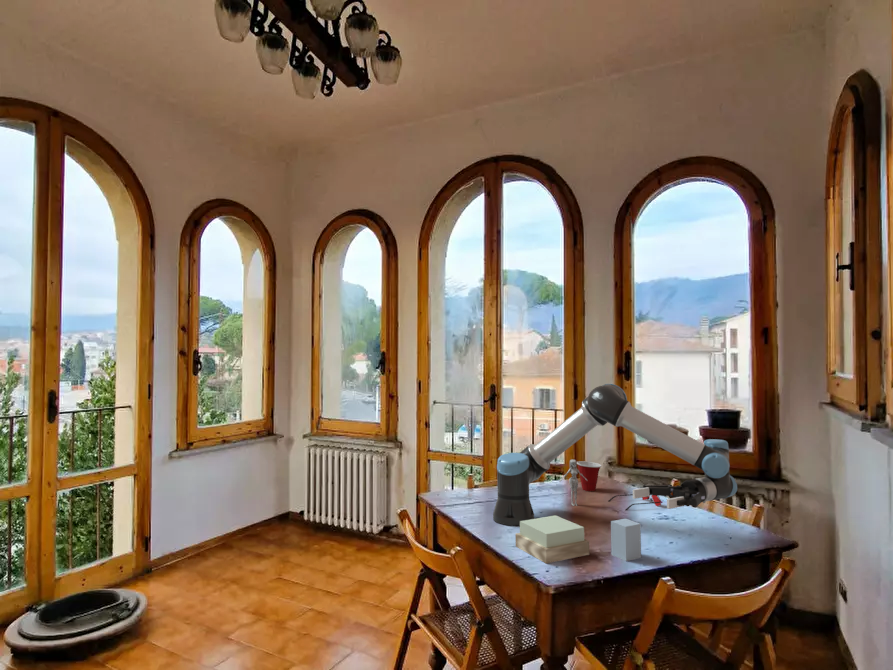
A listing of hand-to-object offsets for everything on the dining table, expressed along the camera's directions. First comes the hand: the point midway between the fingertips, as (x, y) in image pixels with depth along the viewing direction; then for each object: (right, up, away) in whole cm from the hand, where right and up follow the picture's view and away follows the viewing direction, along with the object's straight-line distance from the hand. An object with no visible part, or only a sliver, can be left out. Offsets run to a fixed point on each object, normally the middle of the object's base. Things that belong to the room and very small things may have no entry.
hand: (650, 498), depth 167 cm
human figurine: (-11, -18, +52) cm, 56 cm away
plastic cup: (+1, -19, +76) cm, 79 cm away
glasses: (+13, -19, +52) cm, 57 cm away
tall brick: (-9, -16, -5) cm, 19 cm away
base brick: (-30, -16, 0) cm, 34 cm away
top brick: (-30, -12, 0) cm, 33 cm away
